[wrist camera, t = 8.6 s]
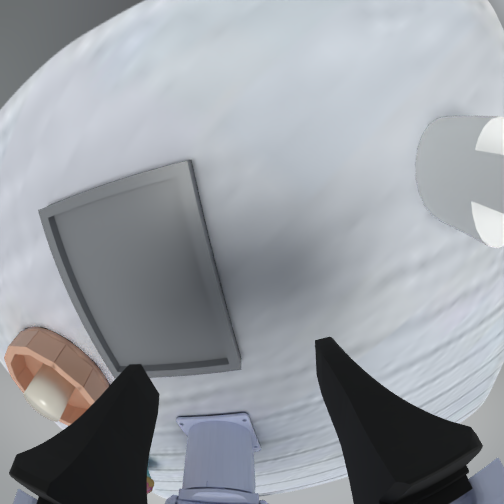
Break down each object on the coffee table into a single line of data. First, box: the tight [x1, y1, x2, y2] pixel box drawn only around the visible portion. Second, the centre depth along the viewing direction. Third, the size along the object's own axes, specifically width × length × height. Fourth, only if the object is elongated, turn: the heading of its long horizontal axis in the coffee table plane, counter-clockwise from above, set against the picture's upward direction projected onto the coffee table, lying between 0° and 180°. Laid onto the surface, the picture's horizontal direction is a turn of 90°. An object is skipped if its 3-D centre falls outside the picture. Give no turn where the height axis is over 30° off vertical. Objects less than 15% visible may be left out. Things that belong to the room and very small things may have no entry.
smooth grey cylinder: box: [24, 363, 75, 422], centre depth 19 cm, size 5×5×5 cm
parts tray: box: [38, 160, 241, 378], centre depth 18 cm, size 16×12×1 cm
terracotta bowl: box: [4, 327, 110, 426], centre depth 21 cm, size 13×13×4 cm
